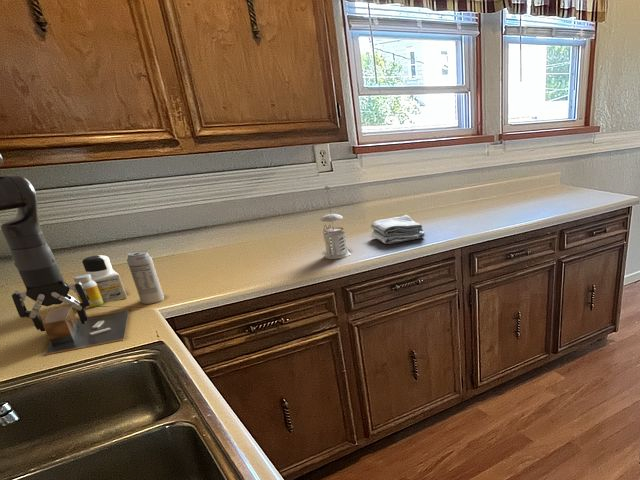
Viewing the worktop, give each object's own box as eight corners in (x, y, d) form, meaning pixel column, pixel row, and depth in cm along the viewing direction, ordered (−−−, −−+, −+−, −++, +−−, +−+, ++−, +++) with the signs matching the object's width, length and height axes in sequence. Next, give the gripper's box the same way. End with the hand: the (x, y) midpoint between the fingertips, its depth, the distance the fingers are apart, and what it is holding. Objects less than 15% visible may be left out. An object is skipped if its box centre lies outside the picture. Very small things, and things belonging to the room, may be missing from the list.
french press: (354, 251, 198) (345, 183, 187) (342, 260, 188) (331, 189, 177) (330, 251, 200) (320, 183, 188) (317, 259, 190) (305, 189, 178)
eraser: (51, 344, 126) (42, 324, 124) (58, 329, 135) (50, 309, 132) (73, 340, 128) (65, 320, 126) (79, 325, 137) (71, 306, 134)
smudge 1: (98, 328, 135) (97, 326, 135) (91, 328, 135) (91, 327, 134) (104, 321, 139) (104, 320, 138) (98, 322, 138) (98, 321, 138)
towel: (371, 238, 216) (368, 219, 213) (410, 232, 225) (409, 213, 221) (385, 246, 205) (383, 226, 201) (426, 238, 213) (425, 219, 210)
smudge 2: (91, 335, 130) (91, 334, 130) (89, 334, 131) (89, 333, 131) (111, 330, 133) (110, 328, 133) (109, 328, 134) (108, 327, 134)
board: (45, 358, 121) (43, 355, 121) (61, 324, 140) (59, 321, 140) (124, 343, 128) (123, 339, 127) (129, 312, 147) (128, 309, 146)
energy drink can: (168, 298, 156) (152, 249, 149) (160, 305, 151) (144, 255, 144) (147, 300, 155) (130, 251, 149) (138, 307, 150) (120, 256, 143)
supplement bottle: (78, 311, 149) (65, 279, 144) (90, 304, 153) (77, 273, 149) (98, 310, 149) (85, 278, 144) (108, 303, 154) (96, 272, 149)
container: (98, 305, 153) (81, 262, 147) (92, 299, 157) (76, 257, 152) (127, 298, 157) (112, 256, 151) (121, 292, 162) (106, 251, 156)
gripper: (74, 255, 129) (98, 316, 137) (2, 265, 123) (32, 328, 131) (70, 263, 123) (96, 325, 131) (-5, 273, 117) (26, 338, 125)
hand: (64, 326), depth 131 cm, fingers open, 8 cm apart
